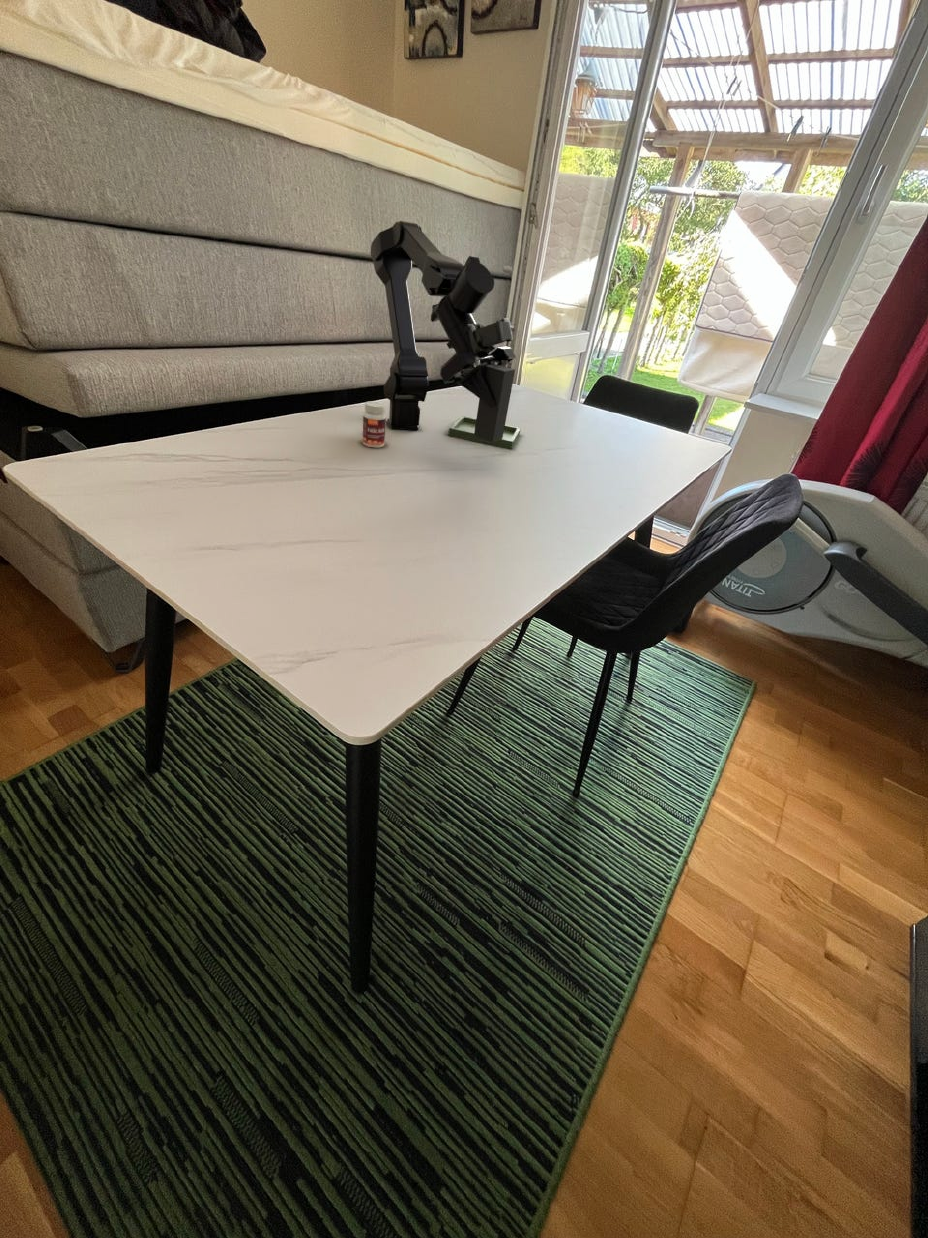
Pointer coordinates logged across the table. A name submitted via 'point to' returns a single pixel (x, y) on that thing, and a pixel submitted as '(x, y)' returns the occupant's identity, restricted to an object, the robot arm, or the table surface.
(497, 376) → the tall black pillar
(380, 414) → the pill bottle
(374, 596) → the table surface
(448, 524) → the table surface
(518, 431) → the shallow green tray
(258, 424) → the table surface
